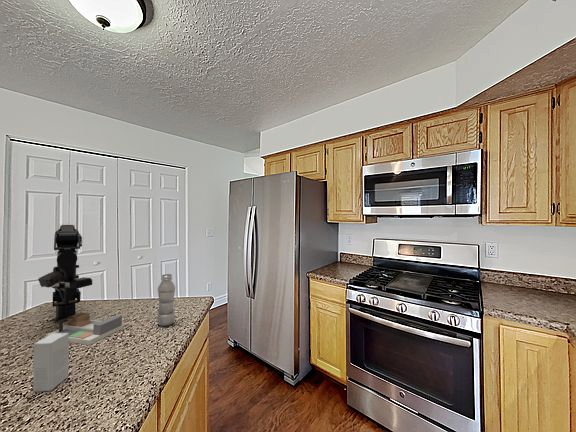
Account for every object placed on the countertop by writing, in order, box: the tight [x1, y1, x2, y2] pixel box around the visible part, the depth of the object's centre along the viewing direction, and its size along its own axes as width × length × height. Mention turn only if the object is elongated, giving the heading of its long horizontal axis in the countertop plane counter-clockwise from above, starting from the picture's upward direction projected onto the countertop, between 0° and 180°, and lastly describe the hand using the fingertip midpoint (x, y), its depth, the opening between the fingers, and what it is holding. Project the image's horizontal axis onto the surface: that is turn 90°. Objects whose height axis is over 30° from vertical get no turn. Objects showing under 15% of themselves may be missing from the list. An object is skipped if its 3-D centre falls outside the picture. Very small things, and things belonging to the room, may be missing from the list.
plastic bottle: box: [156, 273, 176, 327], centre depth 106 cm, size 6×7×20 cm
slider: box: [56, 312, 91, 332], centre depth 97 cm, size 4×10×4 cm, turn 167°
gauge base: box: [45, 315, 125, 346], centre depth 97 cm, size 19×14×5 cm
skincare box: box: [32, 333, 70, 393], centre depth 67 cm, size 6×4×12 cm
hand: (66, 303), depth 101 cm, fingers closed
